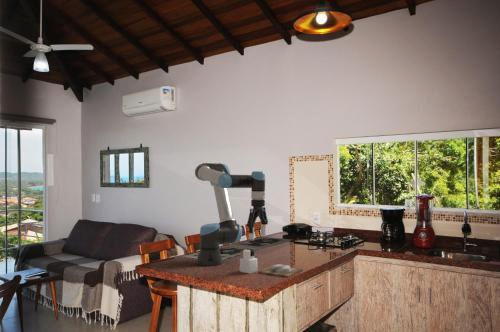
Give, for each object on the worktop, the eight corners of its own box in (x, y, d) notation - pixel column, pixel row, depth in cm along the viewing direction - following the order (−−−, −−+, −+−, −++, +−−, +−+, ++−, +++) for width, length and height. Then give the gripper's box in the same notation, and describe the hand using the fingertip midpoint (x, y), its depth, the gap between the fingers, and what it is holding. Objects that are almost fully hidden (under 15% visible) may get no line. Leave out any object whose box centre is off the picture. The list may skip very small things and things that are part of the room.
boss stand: (258, 273, 197) (258, 267, 197) (274, 266, 212) (274, 261, 213) (288, 277, 188) (288, 271, 188) (302, 270, 203) (302, 265, 203)
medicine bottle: (247, 269, 205) (247, 247, 206) (257, 271, 201) (257, 249, 201) (239, 271, 200) (239, 249, 200) (249, 273, 195) (249, 251, 196)
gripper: (253, 200, 191) (252, 241, 190) (273, 198, 213) (273, 235, 212) (240, 199, 195) (240, 240, 194) (262, 198, 216) (261, 234, 216)
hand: (257, 237), depth 203 cm, fingers open, 13 cm apart
